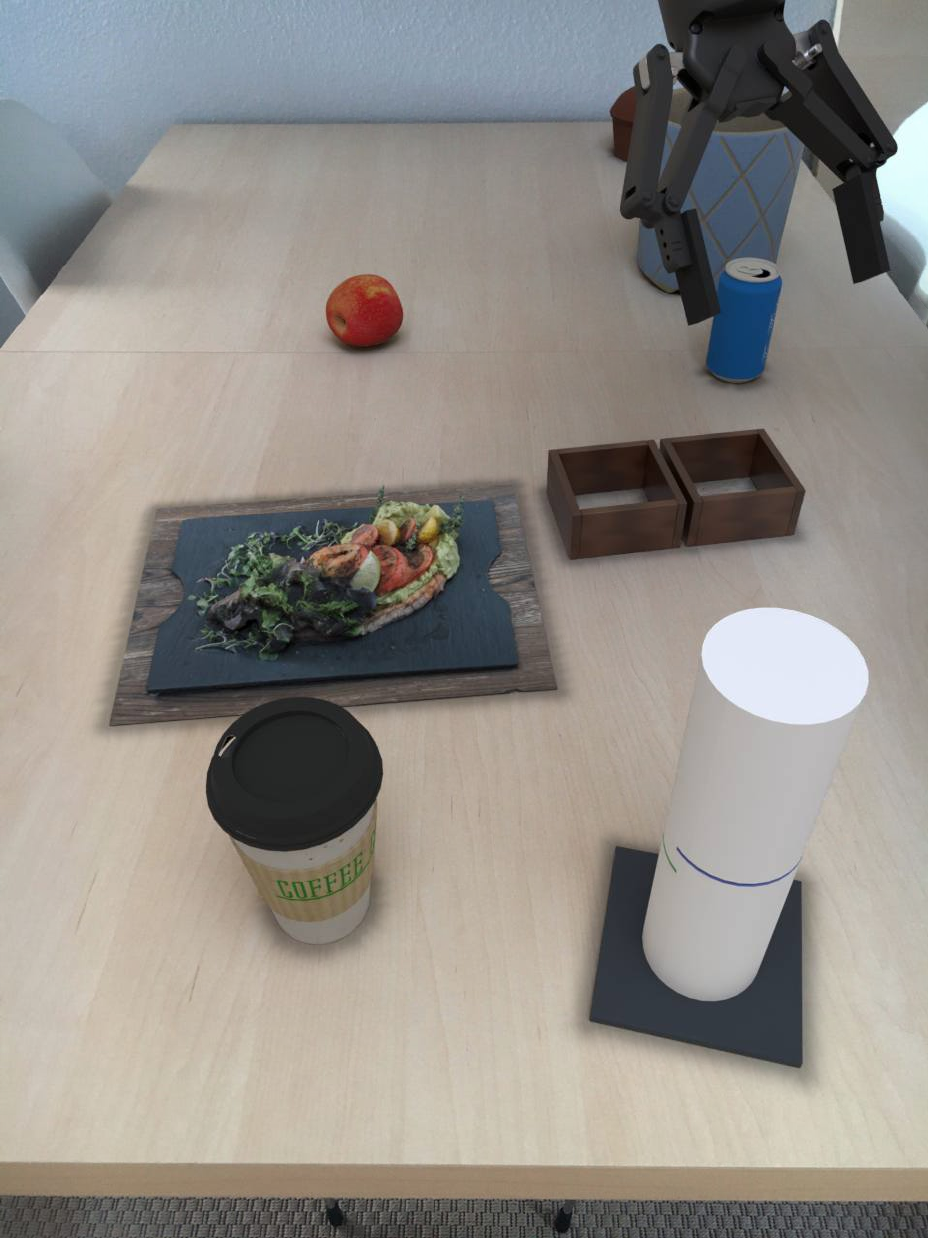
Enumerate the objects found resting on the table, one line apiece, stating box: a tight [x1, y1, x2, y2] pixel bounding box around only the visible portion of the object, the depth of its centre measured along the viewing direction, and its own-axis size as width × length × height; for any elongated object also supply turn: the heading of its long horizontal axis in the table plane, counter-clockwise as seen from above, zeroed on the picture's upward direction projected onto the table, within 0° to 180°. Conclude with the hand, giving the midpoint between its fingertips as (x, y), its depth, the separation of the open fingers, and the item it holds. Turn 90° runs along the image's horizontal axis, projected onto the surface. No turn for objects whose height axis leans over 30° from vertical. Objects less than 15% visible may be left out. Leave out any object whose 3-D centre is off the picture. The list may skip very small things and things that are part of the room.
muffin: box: [609, 85, 637, 162], centre depth 160 cm, size 12×11×10 cm
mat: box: [589, 845, 804, 1069], centre depth 61 cm, size 12×12×1 cm
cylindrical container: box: [642, 607, 870, 1001], centre depth 52 cm, size 7×7×25 cm
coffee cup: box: [205, 697, 384, 945], centre depth 59 cm, size 10×10×15 cm
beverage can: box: [705, 258, 783, 384], centre depth 108 cm, size 6×6×12 cm
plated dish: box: [108, 483, 558, 726], centre depth 84 cm, size 35×28×7 cm
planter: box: [636, 86, 805, 294], centre depth 124 cm, size 19×19×20 cm
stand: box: [545, 428, 807, 560], centre depth 91 cm, size 21×10×5 cm, turn 98°
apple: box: [325, 273, 404, 347], centre depth 116 cm, size 8×8×8 cm
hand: (790, 298), depth 65 cm, fingers open, 13 cm apart
